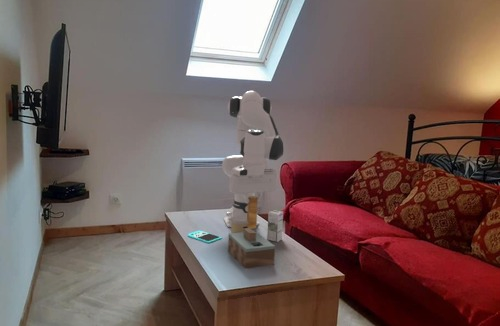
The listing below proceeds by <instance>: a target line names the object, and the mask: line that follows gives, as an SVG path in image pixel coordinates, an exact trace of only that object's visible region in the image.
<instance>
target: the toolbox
mask: <svg viewBox="0 0 500 326" xmlns="http://www.w3.org/2000/svg"><path fill="white" fill-rule="evenodd" d="M227 245H228V249H227V251H228V252H229V254H230V255H231V256H232V257H233V258H234V259H236V260H237V262H238V263H239V264H240V265H241V266H242V267H243V268H244V269H254V268H259V267H260V268H261V267H267V266H273V265H275V252H276V251H275V250H276V248H275V249H268V250H259V251H251V252H246V251H244V250H243V249H242V248H241V247H240V246H239V245H238V244H237V243H236V242H235V241H233V240H232V239H231V238H230V237H229V236H228V244H227ZM253 246H254V247H255V246H260V245H253Z"/></svg>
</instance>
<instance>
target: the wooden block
mask: <svg viewBox="0 0 500 326" xmlns="http://www.w3.org/2000/svg"><path fill="white" fill-rule="evenodd" d="M248 198H249V199H250V203H248V207H247V227H248V228H249V229H252V230H253V229H257V226H256V222H257V221H258V203H257V200H258V198H257V196H248Z"/></svg>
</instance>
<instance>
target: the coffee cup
mask: <svg viewBox="0 0 500 326" xmlns="http://www.w3.org/2000/svg"><path fill="white" fill-rule="evenodd" d="M230 228H231V229H230V230H231V231H230V232H231V233H241V232H244V228H248V227H247V217H246V216H234V217H232V219H231V227H230Z"/></svg>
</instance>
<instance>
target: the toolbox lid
mask: <svg viewBox="0 0 500 326" xmlns="http://www.w3.org/2000/svg"><path fill="white" fill-rule="evenodd" d="M229 237H230V238H231V239H232V240H233V241H235V242H236V243H237V244H238V245H239V246H240V247H241V248H242V249H243V250H244V251H246V252H251V251H259V250H268V249H275V250H276V245H275V244H273V243H272V241H270V240H267V238H266V237H264V236H262V235H261V234H260V233H258V231H256V230H253V229H249V228H244V232H241V233H232V232H231V233H228V238H229ZM253 245H260V246H255V247H254V246H253Z"/></svg>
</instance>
